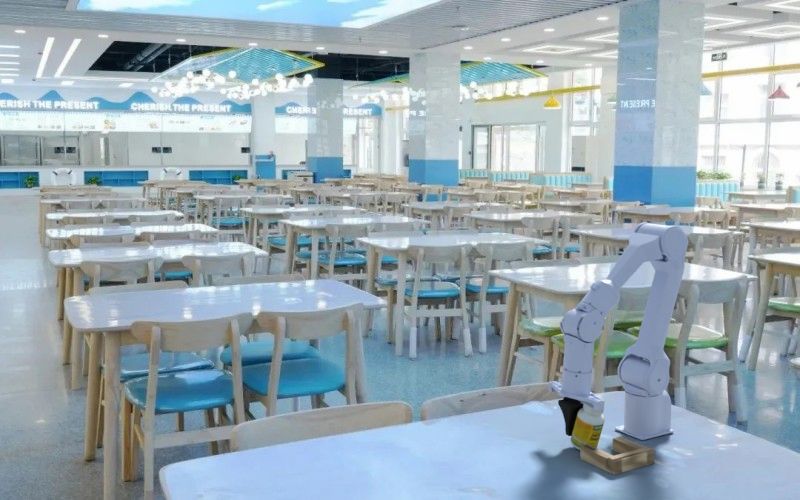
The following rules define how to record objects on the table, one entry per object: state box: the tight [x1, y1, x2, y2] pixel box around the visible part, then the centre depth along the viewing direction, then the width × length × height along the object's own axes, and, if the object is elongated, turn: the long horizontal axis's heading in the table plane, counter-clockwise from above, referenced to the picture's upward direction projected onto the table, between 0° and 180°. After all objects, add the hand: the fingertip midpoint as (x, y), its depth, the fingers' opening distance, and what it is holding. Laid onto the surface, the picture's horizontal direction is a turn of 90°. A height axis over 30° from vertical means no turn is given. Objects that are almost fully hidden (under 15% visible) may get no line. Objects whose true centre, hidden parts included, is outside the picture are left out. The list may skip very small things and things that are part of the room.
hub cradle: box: [579, 436, 656, 475], centre depth 158 cm, size 10×9×3 cm
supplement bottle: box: [570, 402, 606, 451], centre depth 163 cm, size 5×5×10 cm
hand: (572, 435), depth 166 cm, fingers closed, pressing on supplement bottle
